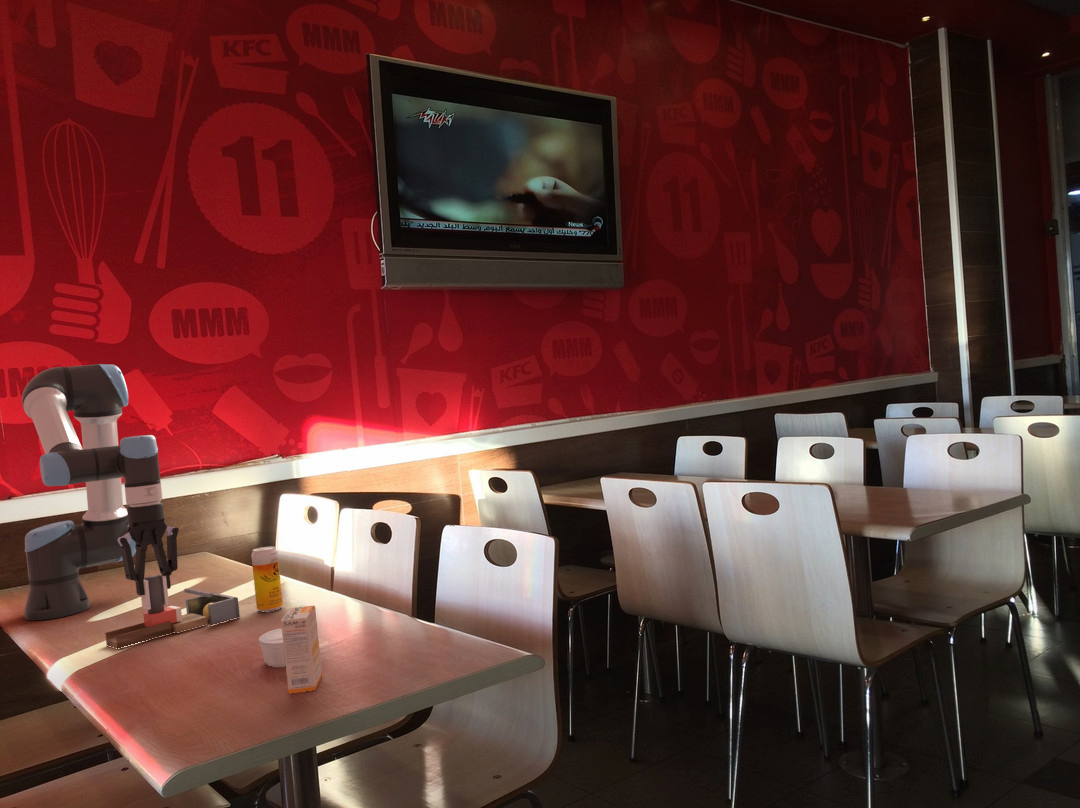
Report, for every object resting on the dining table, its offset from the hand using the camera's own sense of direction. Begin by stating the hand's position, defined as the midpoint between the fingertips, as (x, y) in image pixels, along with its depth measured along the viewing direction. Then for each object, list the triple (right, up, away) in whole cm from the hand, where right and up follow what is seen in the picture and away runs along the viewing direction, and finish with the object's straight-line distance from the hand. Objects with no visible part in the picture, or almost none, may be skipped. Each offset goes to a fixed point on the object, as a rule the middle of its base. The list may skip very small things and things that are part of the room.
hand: (155, 606), depth 200 cm
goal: (+9, -5, +10) cm, 15 cm away
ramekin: (+39, -4, -28) cm, 48 cm away
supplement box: (+46, -4, -44) cm, 63 cm away
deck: (+5, -6, +5) cm, 9 cm away
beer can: (+22, -4, +15) cm, 26 cm away
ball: (+9, -4, +10) cm, 14 cm away
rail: (-2, -7, -3) cm, 8 cm away
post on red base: (+1, -4, +1) cm, 4 cm away
